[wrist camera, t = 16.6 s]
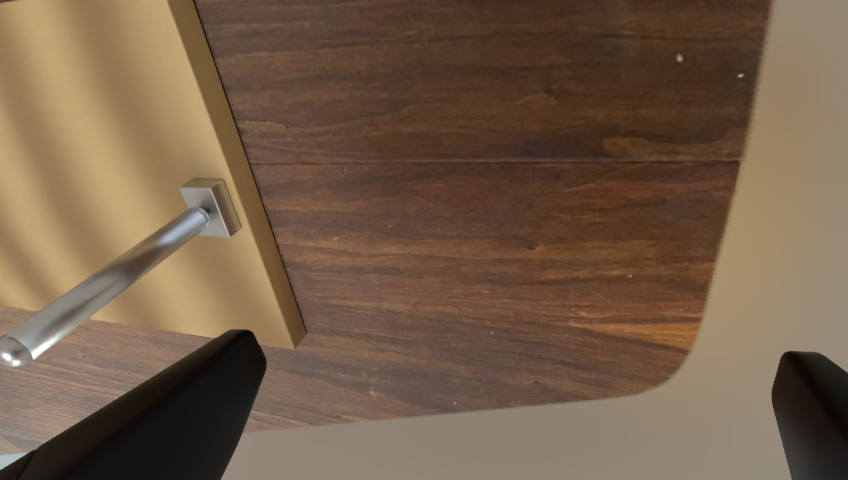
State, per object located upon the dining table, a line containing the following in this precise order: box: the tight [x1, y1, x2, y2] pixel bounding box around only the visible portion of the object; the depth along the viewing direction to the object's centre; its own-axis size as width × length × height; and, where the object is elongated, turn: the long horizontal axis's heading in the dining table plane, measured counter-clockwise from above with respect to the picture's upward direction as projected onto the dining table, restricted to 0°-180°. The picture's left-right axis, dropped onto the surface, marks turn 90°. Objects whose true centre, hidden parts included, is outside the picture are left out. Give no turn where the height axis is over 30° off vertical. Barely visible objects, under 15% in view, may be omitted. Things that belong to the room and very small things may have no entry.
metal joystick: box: [0, 179, 241, 367], centre depth 20 cm, size 3×2×11 cm
